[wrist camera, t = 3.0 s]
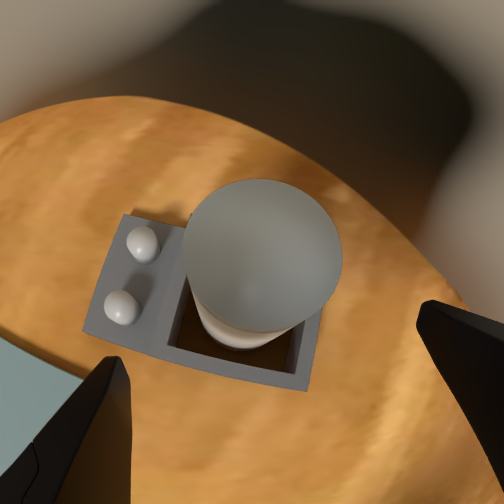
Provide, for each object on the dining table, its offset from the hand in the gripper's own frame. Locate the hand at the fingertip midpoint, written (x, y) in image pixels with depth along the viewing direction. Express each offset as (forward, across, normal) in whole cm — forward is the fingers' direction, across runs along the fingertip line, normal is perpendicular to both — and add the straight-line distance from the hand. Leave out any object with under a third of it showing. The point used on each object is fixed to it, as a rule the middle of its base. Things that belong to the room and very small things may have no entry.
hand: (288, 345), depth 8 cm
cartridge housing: (+10, +2, +5) cm, 11 cm away
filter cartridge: (+10, 0, +5) cm, 11 cm away
